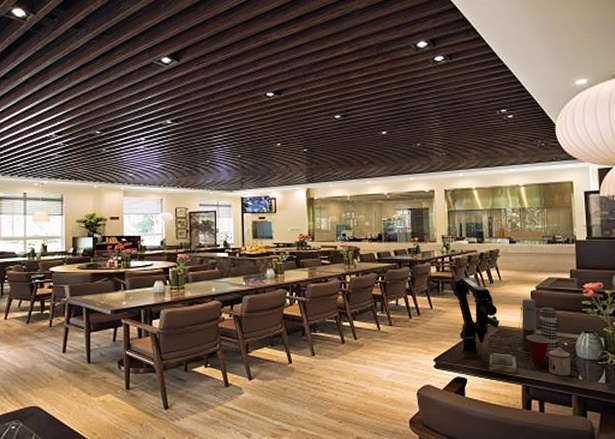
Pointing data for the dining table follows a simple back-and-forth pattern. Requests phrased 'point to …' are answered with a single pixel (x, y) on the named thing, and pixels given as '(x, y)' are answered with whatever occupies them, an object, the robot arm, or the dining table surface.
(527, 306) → the water bottle
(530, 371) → the dining table surface
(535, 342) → the plastic cup
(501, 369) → the tan piece
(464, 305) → the robot arm
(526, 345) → the condiment
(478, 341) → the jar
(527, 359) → the dining table surface
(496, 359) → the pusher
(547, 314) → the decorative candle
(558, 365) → the teacup with lid
